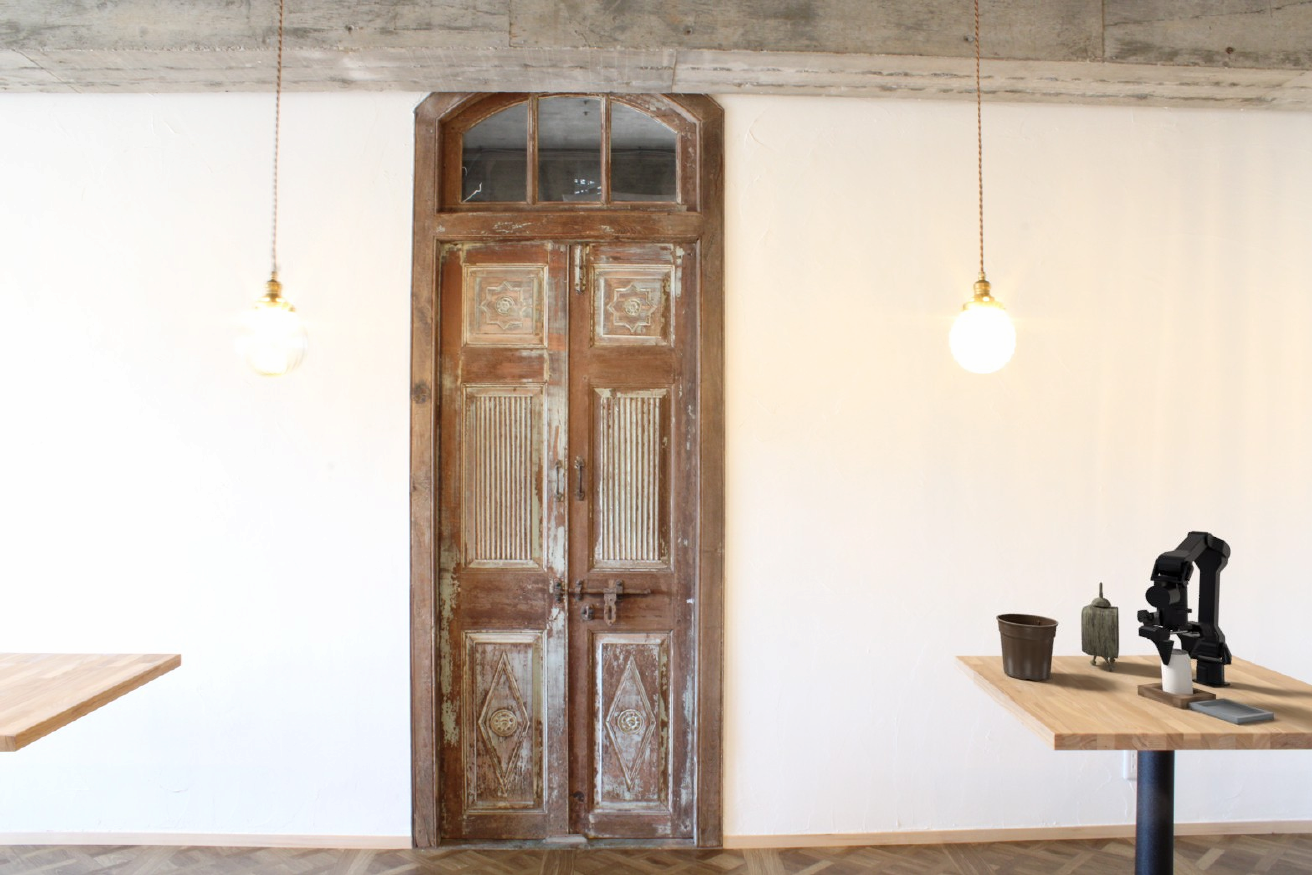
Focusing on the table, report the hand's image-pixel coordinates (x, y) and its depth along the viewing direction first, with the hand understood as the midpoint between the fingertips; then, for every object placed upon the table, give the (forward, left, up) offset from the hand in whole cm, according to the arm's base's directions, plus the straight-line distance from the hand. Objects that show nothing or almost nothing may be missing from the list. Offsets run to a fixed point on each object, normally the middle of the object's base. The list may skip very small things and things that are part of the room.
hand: (1175, 663), depth 200 cm
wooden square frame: (0, 0, -9) cm, 9 cm away
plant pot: (+20, -29, -9) cm, 37 cm away
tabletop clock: (-8, -30, -9) cm, 33 cm away
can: (-1, 0, -9) cm, 9 cm away
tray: (-2, +13, -9) cm, 16 cm away
